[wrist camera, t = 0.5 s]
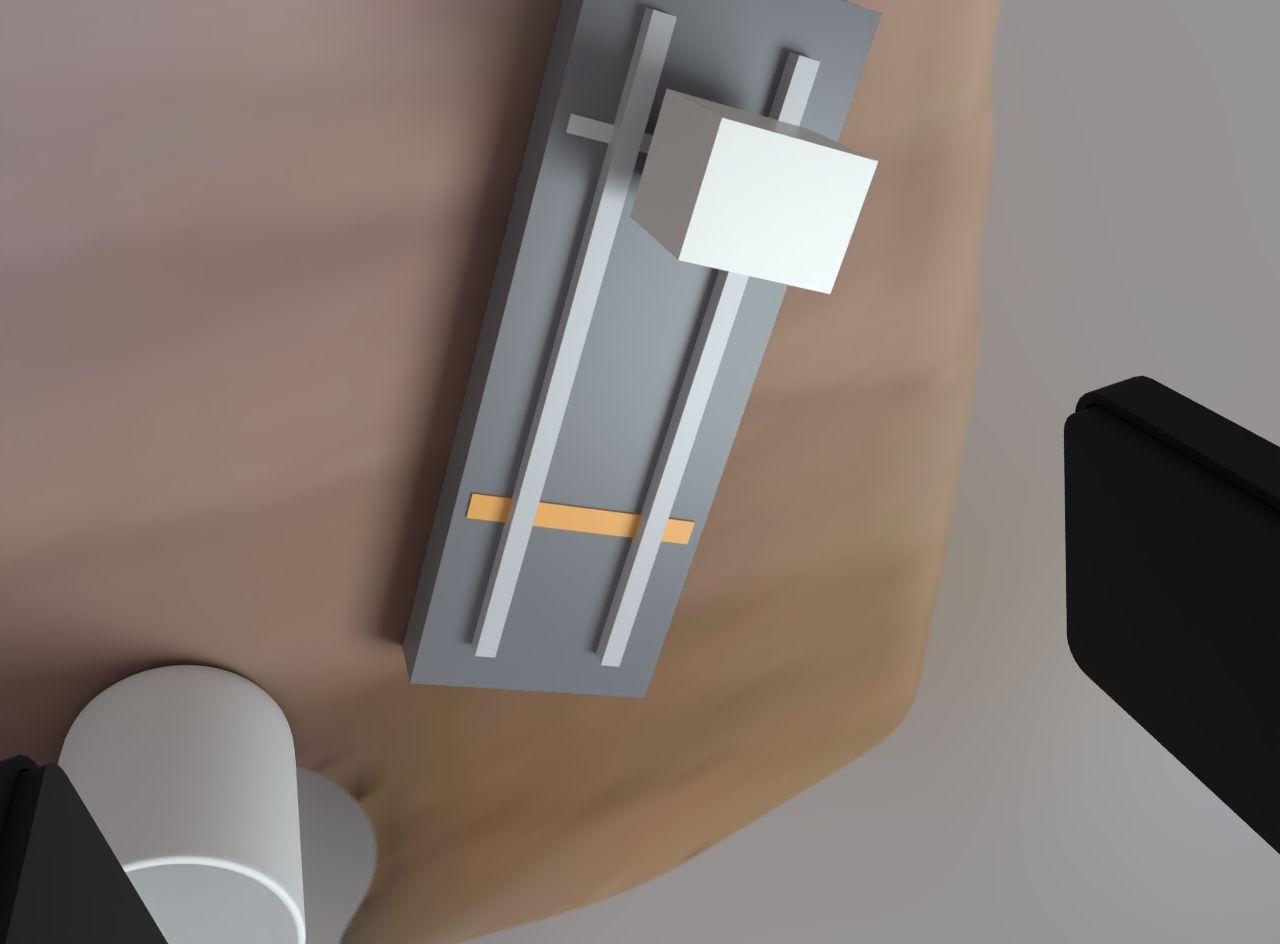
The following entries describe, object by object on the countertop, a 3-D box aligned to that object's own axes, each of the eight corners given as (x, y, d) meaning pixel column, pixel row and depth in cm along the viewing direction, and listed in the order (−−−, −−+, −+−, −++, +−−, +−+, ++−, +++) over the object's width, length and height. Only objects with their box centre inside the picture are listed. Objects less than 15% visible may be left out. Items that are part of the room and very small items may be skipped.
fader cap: (645, 77, 37) (722, 117, 31) (781, 116, 39) (878, 161, 33) (611, 199, 38) (678, 259, 32) (743, 230, 40) (830, 293, 34)
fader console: (583, -84, 37) (611, -80, 34) (848, 5, 41) (893, 16, 38) (402, 646, 47) (412, 695, 44) (627, 663, 51) (650, 709, 48)
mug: (142, 910, 49) (118, 1145, 40) (24, 696, 43) (-34, 917, 34) (342, 843, 51) (363, 1055, 42) (255, 628, 45) (258, 822, 36)
